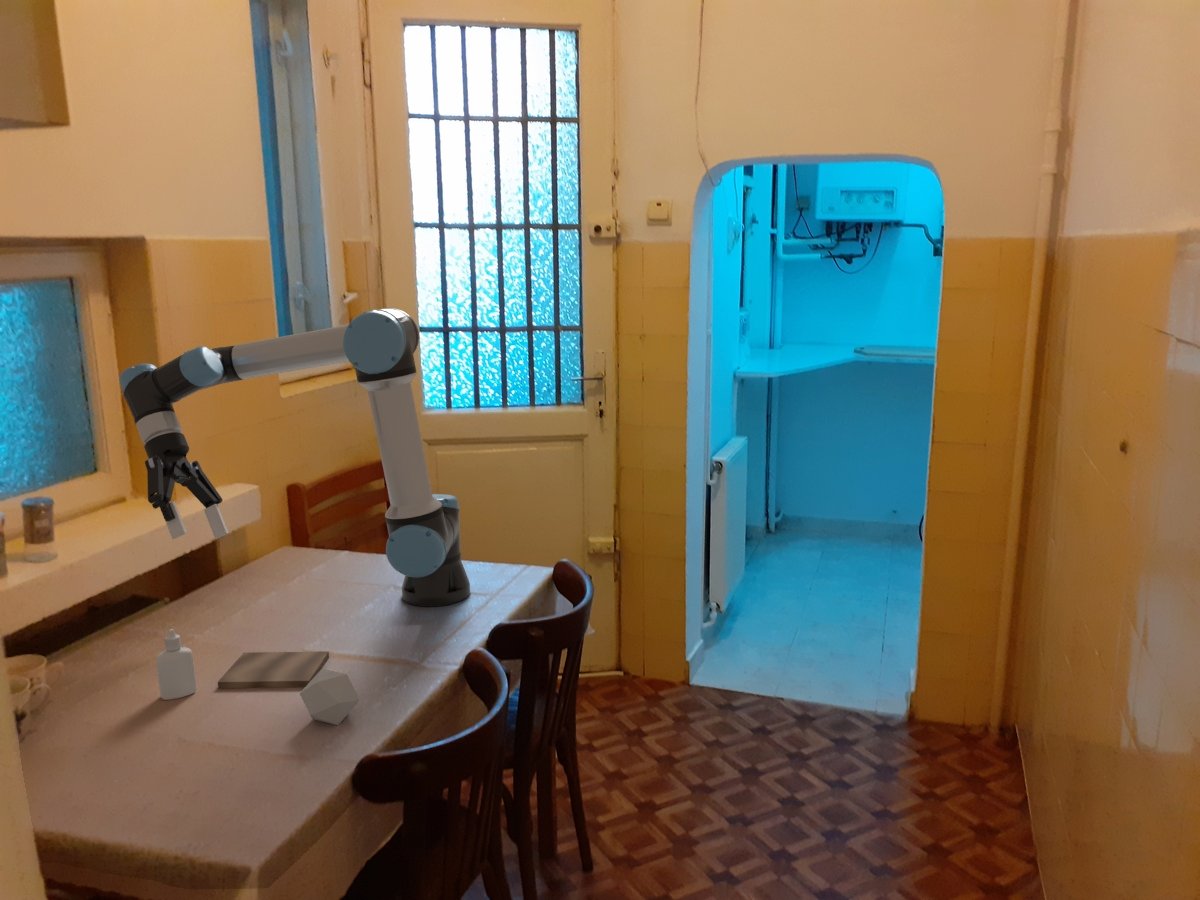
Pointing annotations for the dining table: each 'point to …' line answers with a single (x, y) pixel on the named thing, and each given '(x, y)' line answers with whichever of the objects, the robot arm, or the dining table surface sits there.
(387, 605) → the dining table surface
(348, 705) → the die
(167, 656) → the eye dropper bottle
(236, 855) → the dining table surface
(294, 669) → the walnut board
